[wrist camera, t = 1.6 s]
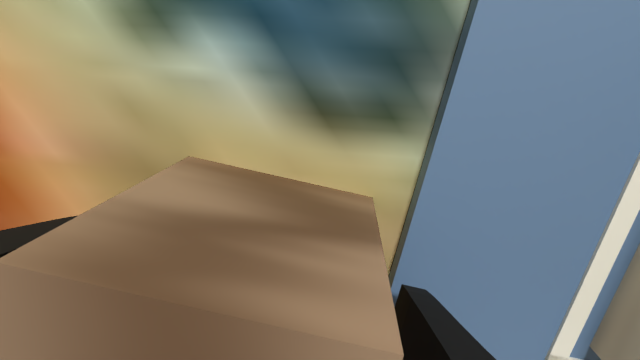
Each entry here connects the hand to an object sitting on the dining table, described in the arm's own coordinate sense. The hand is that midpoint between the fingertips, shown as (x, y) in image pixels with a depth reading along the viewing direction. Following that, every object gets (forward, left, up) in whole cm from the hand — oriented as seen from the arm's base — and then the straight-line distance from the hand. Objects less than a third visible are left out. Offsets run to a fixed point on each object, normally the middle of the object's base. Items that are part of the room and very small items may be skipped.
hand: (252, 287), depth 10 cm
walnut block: (0, 0, -2) cm, 2 cm away
